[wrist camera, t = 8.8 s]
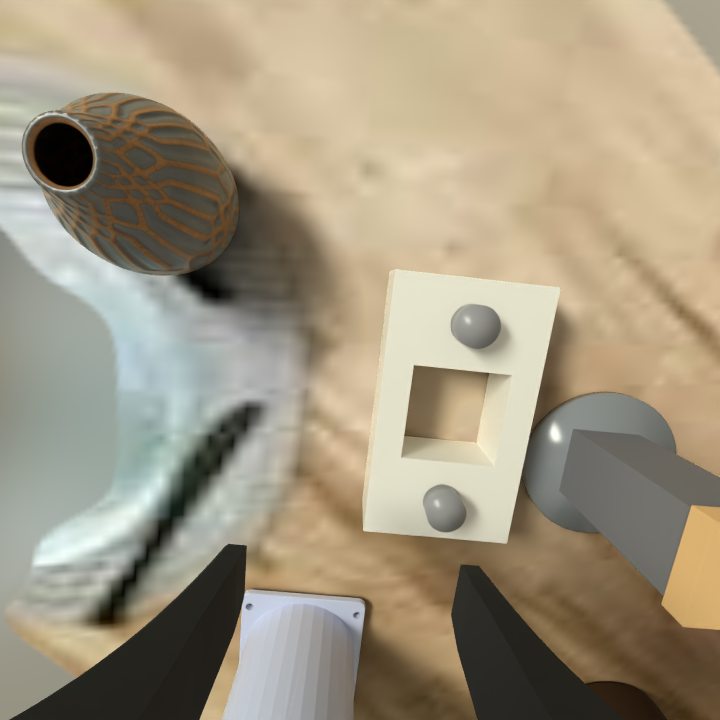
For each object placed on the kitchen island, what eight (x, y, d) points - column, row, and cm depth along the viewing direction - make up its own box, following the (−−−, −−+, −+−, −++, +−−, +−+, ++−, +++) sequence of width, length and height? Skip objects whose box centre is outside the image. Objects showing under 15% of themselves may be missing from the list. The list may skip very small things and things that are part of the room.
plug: (625, 499, 23) (796, 635, 14) (555, 493, 23) (682, 626, 14) (643, 431, 22) (838, 532, 13) (570, 425, 22) (717, 521, 13)
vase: (269, 165, 19) (199, 70, 11) (236, 293, 21) (151, 299, 12) (137, 119, 19) (-47, -19, 10) (112, 253, 20) (-69, 231, 12)
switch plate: (487, 511, 23) (515, 559, 19) (362, 499, 23) (363, 546, 19) (531, 287, 21) (575, 287, 17) (389, 271, 20) (398, 268, 16)
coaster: (646, 532, 24) (653, 538, 23) (509, 520, 24) (513, 526, 23) (685, 399, 22) (694, 402, 21) (538, 384, 22) (543, 387, 21)
